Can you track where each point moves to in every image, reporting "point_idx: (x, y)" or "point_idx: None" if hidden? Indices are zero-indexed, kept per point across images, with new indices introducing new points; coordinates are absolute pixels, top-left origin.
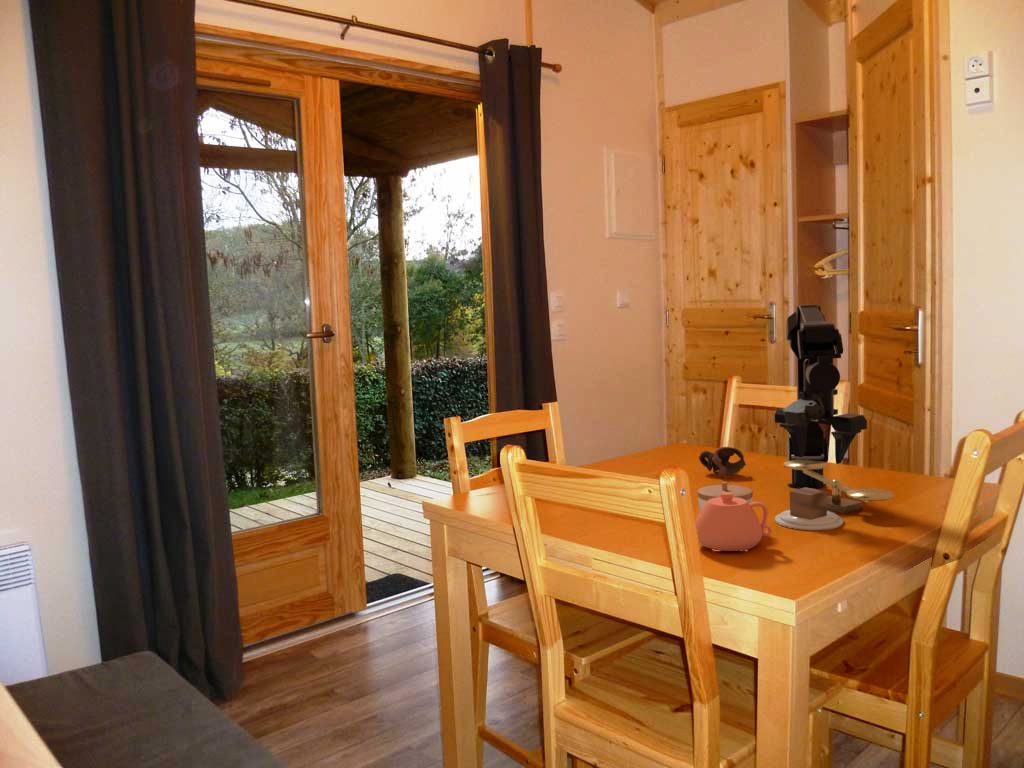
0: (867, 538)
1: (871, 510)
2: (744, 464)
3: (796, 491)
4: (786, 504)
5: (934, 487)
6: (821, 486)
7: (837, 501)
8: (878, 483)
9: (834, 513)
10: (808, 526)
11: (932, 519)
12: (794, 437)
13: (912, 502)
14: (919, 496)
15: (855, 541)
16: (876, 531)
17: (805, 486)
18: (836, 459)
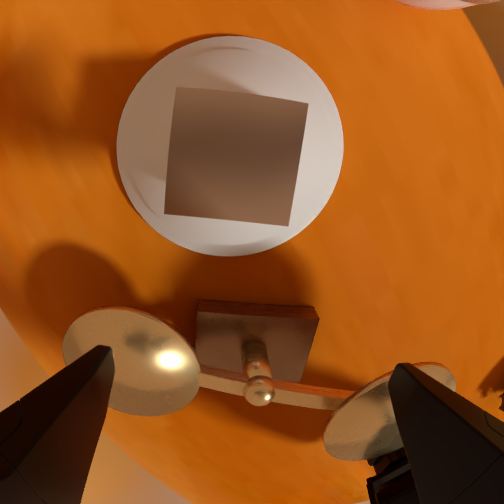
0: (15, 114)
1: None
2: (502, 405)
3: (277, 115)
4: (384, 287)
5: (197, 499)
6: None
7: (244, 345)
8: (281, 486)
9: (175, 228)
10: (175, 60)
11: (40, 360)
12: (492, 434)
13: (155, 441)
14: (176, 468)
15: (24, 68)
16: (32, 191)
17: None
18: (94, 359)
